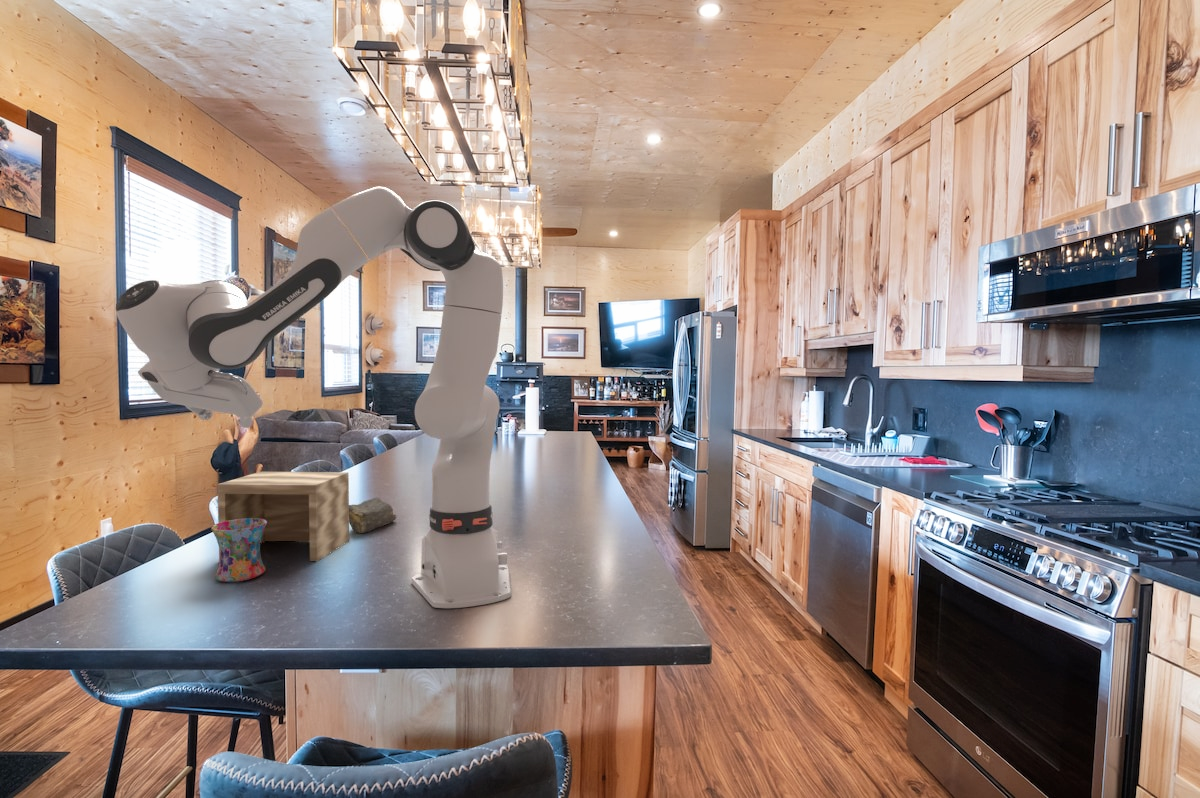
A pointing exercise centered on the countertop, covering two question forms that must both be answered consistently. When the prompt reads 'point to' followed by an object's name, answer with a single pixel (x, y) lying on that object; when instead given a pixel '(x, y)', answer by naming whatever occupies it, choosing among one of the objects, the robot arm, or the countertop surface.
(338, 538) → the shelf unit
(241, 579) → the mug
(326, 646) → the countertop surface
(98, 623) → the countertop surface
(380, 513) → the rock
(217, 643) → the countertop surface
